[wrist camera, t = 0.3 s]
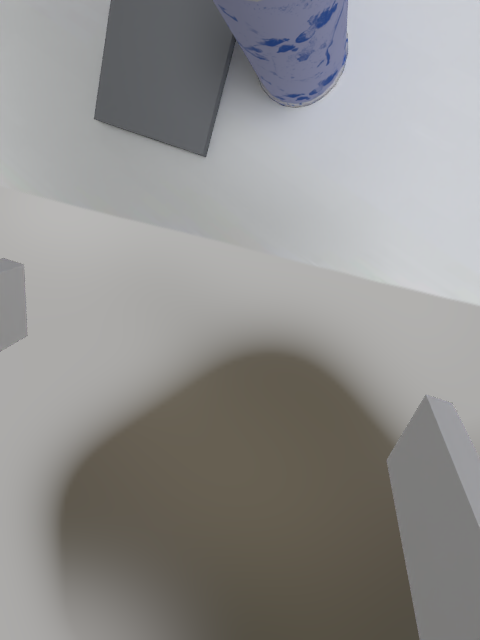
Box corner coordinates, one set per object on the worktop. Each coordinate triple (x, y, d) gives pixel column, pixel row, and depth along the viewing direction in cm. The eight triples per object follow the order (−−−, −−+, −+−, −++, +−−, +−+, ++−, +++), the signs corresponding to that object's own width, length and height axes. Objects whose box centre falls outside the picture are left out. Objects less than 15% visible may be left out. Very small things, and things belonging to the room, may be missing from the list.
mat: (121, -22, 32) (115, -29, 31) (243, 10, 31) (240, 4, 30) (100, 121, 37) (94, 118, 36) (205, 156, 35) (202, 155, 34)
